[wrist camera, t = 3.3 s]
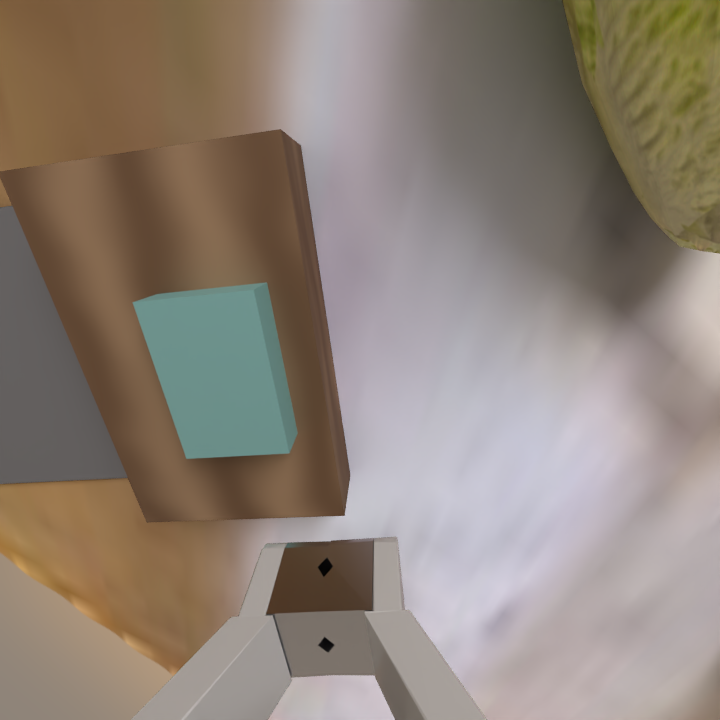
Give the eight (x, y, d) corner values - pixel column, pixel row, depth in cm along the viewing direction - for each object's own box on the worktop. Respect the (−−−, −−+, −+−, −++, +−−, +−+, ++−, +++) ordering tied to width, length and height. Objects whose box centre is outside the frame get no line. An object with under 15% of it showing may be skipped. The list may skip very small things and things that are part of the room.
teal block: (267, 282, 18) (253, 289, 17) (297, 433, 22) (289, 453, 20) (157, 293, 19) (132, 302, 17) (203, 438, 22) (186, 459, 20)
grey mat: (57, 200, 22) (53, 200, 21) (161, 473, 29) (159, 476, 29) (-168, 231, 23) (-175, 231, 23) (-16, 482, 30) (-20, 484, 30)
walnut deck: (300, 145, 20) (280, 129, 16) (350, 475, 28) (344, 515, 24) (66, 179, 21) (-3, 171, 17) (177, 483, 29) (146, 522, 25)
